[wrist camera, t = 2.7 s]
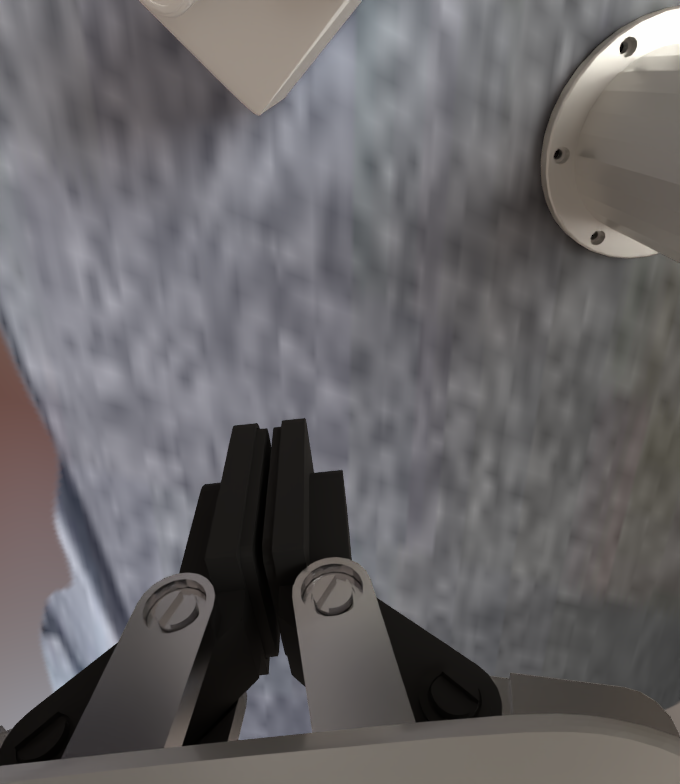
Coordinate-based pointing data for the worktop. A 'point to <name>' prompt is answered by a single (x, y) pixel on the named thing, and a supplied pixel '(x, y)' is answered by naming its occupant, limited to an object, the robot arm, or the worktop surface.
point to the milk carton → (254, 40)
